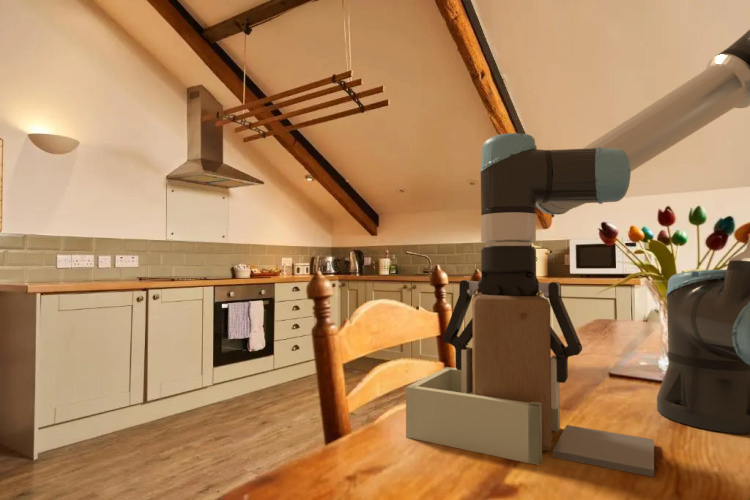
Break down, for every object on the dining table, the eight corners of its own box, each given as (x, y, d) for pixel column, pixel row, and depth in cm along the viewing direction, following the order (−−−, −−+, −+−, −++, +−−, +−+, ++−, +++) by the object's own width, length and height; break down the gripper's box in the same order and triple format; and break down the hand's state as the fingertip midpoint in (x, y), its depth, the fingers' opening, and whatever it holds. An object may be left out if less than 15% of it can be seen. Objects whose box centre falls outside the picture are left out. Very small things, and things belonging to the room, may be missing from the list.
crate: (560, 428, 70) (559, 380, 70) (538, 465, 57) (538, 406, 57) (446, 408, 79) (446, 367, 79) (406, 437, 66) (406, 386, 66)
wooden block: (552, 454, 60) (551, 298, 61) (473, 447, 62) (472, 296, 63) (541, 427, 70) (540, 293, 71) (472, 422, 72) (472, 292, 73)
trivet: (654, 445, 63) (653, 439, 63) (653, 477, 54) (653, 470, 54) (566, 430, 69) (566, 424, 69) (552, 456, 59) (552, 450, 59)
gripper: (603, 244, 64) (605, 405, 63) (440, 247, 76) (440, 382, 76) (597, 242, 58) (600, 421, 57) (420, 245, 70) (420, 393, 69)
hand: (509, 399), depth 66 cm, fingers closed on wooden block, 12 cm apart
